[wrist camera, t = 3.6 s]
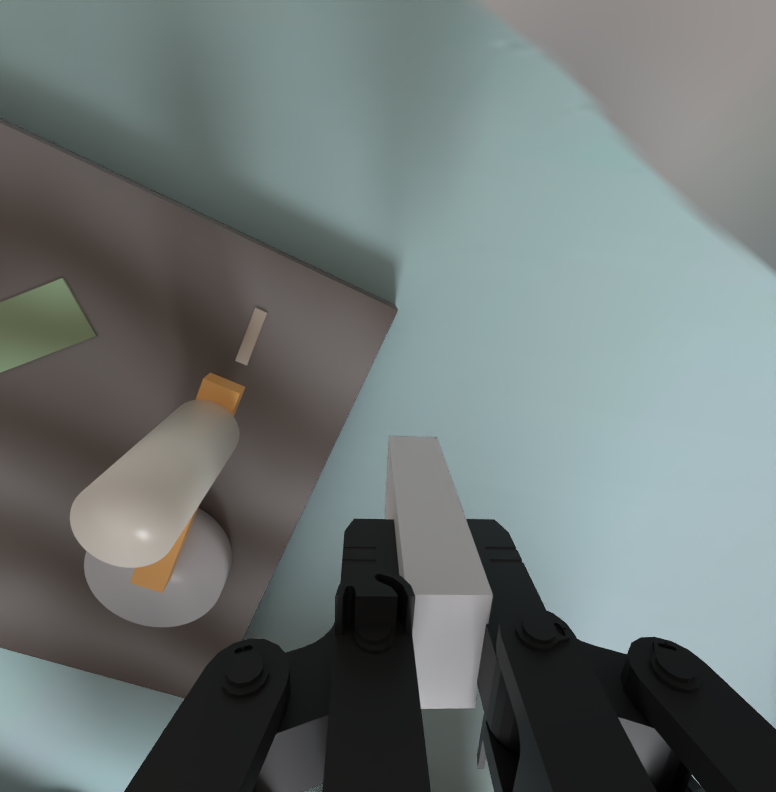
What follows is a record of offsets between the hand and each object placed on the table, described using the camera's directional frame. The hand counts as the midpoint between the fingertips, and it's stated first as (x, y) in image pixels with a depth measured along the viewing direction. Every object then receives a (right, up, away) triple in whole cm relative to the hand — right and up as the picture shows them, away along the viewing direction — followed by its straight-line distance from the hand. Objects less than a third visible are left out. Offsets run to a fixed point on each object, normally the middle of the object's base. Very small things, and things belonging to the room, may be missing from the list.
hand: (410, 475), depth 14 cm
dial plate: (-14, 0, +7) cm, 15 cm away
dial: (-10, -2, +6) cm, 12 cm away
